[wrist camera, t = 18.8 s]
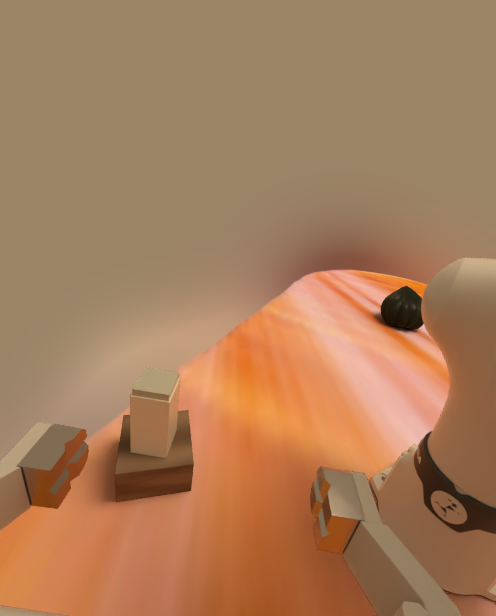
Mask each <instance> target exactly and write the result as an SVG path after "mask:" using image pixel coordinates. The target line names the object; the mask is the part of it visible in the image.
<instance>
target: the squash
mask: <svg viewBox="0 0 496 616" xmlns="http://www.w3.org/2000/svg"><path fill="white" fill-rule="evenodd" d="M421 303H422V298H421V297H420V296H419V295H418V294H417V293H416V292H415V291H413V290H412V289H411V288H409V287H408V286H405V287H402V288H400V289H399V290H397V291H395V292H393V293H392V294H390V295H389V296H387V297H386V298H385V299H384V301H383V303H382V305H381V314H382V317H383V319H384V320H385V321H386V322H388V323H389V325H391V326H399V327H405V328H407V329H410V330H414V329H418V328H420V327H421V326H422V325H423V324H424V323H423V319H422V314H421Z"/></svg>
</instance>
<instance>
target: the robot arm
mask: <svg viewBox="0 0 496 616" xmlns="http://www.w3.org/2000/svg"><path fill="white" fill-rule="evenodd" d="M421 314H422V319H423V323H424V325H425V328H426V330H427V331H428V333H429V334H430V336H431V337H432V338H433V340H434V341H435V342H436V344H437V345H438V347H439V348H440V350H441V352H442V354H443V356H444V359H445V361H446V364H447V368H448V371H449V379H450V386H449V394H448V398H447V401H446V403H445V406H444V408H443V411H442V413H441V415H440V417H439V419H438V421H437V423H436V425H435V427H434V429H433V431H431V432H429V433H428V434H426V436H425V437H424V438H423V440H421V442H420V443H419V445H416V444H413V445H412V446H411V447H410V448H409V449H408V451H404V452H403V453H402V454H401V456H400V457H399V458H398V459H397V461H396V462H395V464H394V465H393V466H391V467H389V468H387V469H385V470H383V471H381V472H379V473H377V474H375V475H374V476H373V477H372V478H371V480H370V482H371V486H372V488H373V490H374V493H375V495H376V497H377V500H378V509H379V512H378V509H377V506H376V503H375V500H374V497H373V494H372V491H371V488H370V485H369V482H368V479H367V476H366V475H365V474H364V473H360V472H353V471H348V470H342V469H335V468H328V467H322V466H321V467H320V468H319V469H318V471H317V478H318V479H317V480H315V481H314V482H313V485H312V488H311V496H310V499H311V511H312V513H313V515H314V516H315V518H316V522H315V524H314V534H315V541H316V549H317V550H321V551H327V552H332V553H337V554H343V558H344V559H345V561H346V563H347V565H348V566H349V568H350V570H351V571H352V573H353V575H354V576H355V578H356V580H357V582H358V583H359V585H360V587H361V588H362V590H363V592H364V593H365V595H366V597H367V599H368V600H369V602H370V604H371V605H372V607H373V609H374V610H375V612H376V614H377V616H462V615H461V613H460V611H459V609H458V607H457V606H456V605H455V604H454V603H453V601H452V600H451V599H450V598H449V597H448V596H447V594H446V593H445V592H444V591H443V590H442V589H444V590H446V591H449V592H452V593H456V594H461V595H474V594H476V595H482V596H484V597H487V598H489V599H491V600H494V601H496V259H481V258H462V259H459V260H457V261H455V262H453V263H451V264H449V265H448V266H446V267H444V268H443V269H442V270H441V271H440V272H438V273H437V274H436V275H435V276H434V277H433V279H432V280H431V281H430V283H429V284H428V286H427V287H426V289H425V292H424V294H423V298H422V303H421ZM86 437H87V433H86V430H85V429H79V428H74V427H69V426H64V425H58V424H52V423H47V422H39V423H37V424H35V425H34V426H33V427H32V428H31V429H30V430H29V431H28V432H27V433H26V434H25V436H24V437H23V438H22V439H21V440H20V441H19V442H18V443H17V444H16V445H15V446H14V447H13V448H12V450H11V451H10V452H9V453H8V454H7V455H6V456H5V457H4V458H3V459H2V460H1V461H0V530H2V529H3V528H4V527H5V526H7V525H8V524H9V523H11V522H12V521H13V520H15V519H16V518H17V517H19V516H20V515H21V514H22V513H24V512H25V511H26V510H28V509H29V508H30V507H31V506H39V507H47V508H55V509H58V508H59V506H60V505H61V503H62V502H63V500H64V498H65V497H66V495H67V494H68V492H69V491H70V489H71V484H70V481H71V480H73V479H74V478H76V477H77V476H79V474H80V473H81V471H82V470H83V468H84V466H85V463H86V461H87V458H88V452H89V450H88V445H87V444H86V443H85V442H84V440H85V439H86ZM383 480H384V481H383ZM30 505H31V506H30ZM441 588H442V589H441ZM0 616H67V615H61V614H55V613H48V612H42V611H35V610H29V609H22V608H16V607H9V606H3V605H0Z"/></svg>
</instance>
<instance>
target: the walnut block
mask: <svg viewBox="0 0 496 616" xmlns="http://www.w3.org/2000/svg"><path fill="white" fill-rule="evenodd" d="M193 465H194V463H193V453H192V443H191V433H190V424H189V414H188V410H186V411H178V417H177V430H176V433H175V436H174V438H173V441H172V444H171V447H170V450H169V452H168V455H167V458H161V457H155V456H149V455H143V454H137V453H131V443H130V415H124V416H123V423H122V430H121V436H120V443H119V450H118V456H117V463H116V470H115V485H116V501H117V502H121V501H128V500H134V499H141V498H147V497H154V496H160V495H167V494H173V493H180V492H186V491H191V485H192V475H193Z"/></svg>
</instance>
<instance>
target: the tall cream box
mask: <svg viewBox="0 0 496 616" xmlns="http://www.w3.org/2000/svg"><path fill="white" fill-rule="evenodd" d="M180 379H181V378H179V373H178V372H172V371H166V370H160V369H154V368H148V367H146V368H145V370H144V372H143V373H142V375H141V376H140V378H139V379H138V381H137V382H136V384H135V386H134V387H133V389H132V394H131V395H130V443H131V453H137V454H143V455H149V456H155V457H161V458H167V455H168V452H169V450H170V447H171V444H172V441H173V438H174V436H175V433H176V430H177V417H178V404H179V392H180Z"/></svg>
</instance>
